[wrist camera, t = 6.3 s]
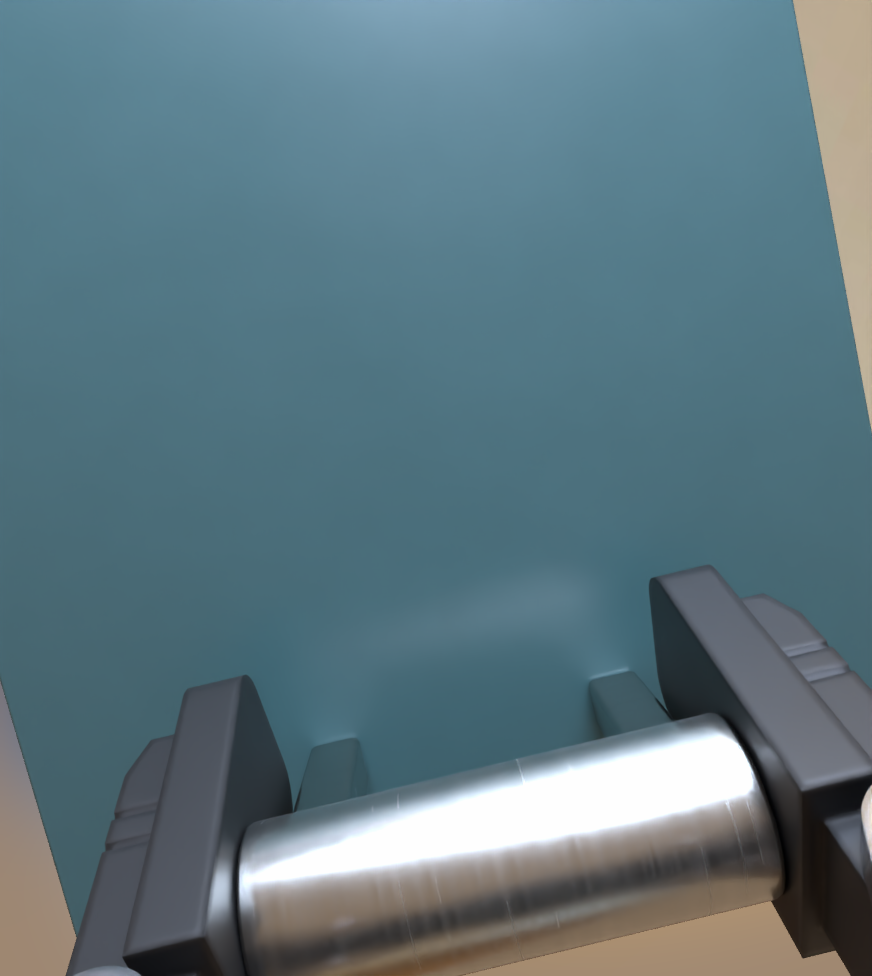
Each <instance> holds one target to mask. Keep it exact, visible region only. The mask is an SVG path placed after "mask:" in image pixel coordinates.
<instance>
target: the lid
mask: <svg viewBox="0 0 872 976" xmlns="http://www.w3.org/2000/svg"><path fill="white" fill-rule="evenodd" d="M708 564H709V565H712V566H713V567H714V568H715V569H716V570H717V571H718V572H719V573H720V575H721V576H722V577H723V578H724V580H725V581H726V582H727V583H728V584H729V586H730V587H731V588H732V589H733V590H734V592H735V593H736V594H737V595H738V597H739V598H740V599H741V598H745V597H749V596H753V595H757V594H762V593H764V594H766V595H768V596H770V597H772V598H774V599H776V600H777V601H779V602H781V603H783V604H785V605H787V606H789V607H791V608H793V609H795V610H797V611H799V612H801V613H802V614H803V615H804V616H805V617H806V618H807V620H808V621H809V622H810V623H811V624H812V625H813V626H814V627H815V628H816V629H817V630H818V632H819V633H820V634H821V635H822V636H823V637H824V638H825V639H826V640H827V644H828V646H829V647H833V648H834V649H835V650H836V651H837V652H838V653H839V654H840V656H841V657H842V658H843V659H844V660H845V661H846V662H847V663H848V664H849V668H850V670H851V671H855V672H856V673H857V674H858V675H859V676H860V677H861V679H862V680H863V681H864V682H865V683H866V684H867V685H868V686H869V687H870V688H871V689H872V432H871V426H870V421H869V416H868V410H867V405H866V399H865V394H864V388H863V383H862V377H861V372H860V366H859V361H858V355H857V350H856V344H855V339H854V333H853V328H852V323H851V317H850V312H849V306H848V301H847V295H846V290H845V284H844V279H843V273H842V268H841V262H840V257H839V251H838V246H837V240H836V235H835V230H834V224H833V219H832V213H831V208H830V202H829V197H828V191H827V186H826V180H825V175H824V169H823V164H822V158H821V153H820V147H819V142H818V137H817V131H816V126H815V120H814V115H813V109H812V104H811V98H810V93H809V87H808V82H807V76H806V71H805V65H804V60H803V54H802V49H801V44H800V38H799V33H798V27H797V22H796V16H795V11H794V5H793V0H0V681H1V685H2V688H3V691H4V695H5V698H6V701H7V704H8V708H9V712H10V715H11V718H12V722H13V725H14V728H15V732H16V735H17V739H18V742H19V745H20V749H21V752H22V755H23V759H24V762H25V765H26V769H27V772H28V775H29V779H30V782H31V785H32V789H33V792H34V796H35V799H36V802H37V805H38V809H39V813H40V816H41V819H42V822H43V826H44V829H45V833H46V836H47V839H48V843H49V846H50V850H51V852H52V856H53V860H54V863H55V866H56V870H57V873H58V877H59V880H60V883H61V886H62V890H63V893H64V897H65V900H66V903H67V907H68V910H69V914H70V917H71V920H72V924H73V927H74V930H75V934H76V937H77V936H78V932H79V929H80V926H81V922H82V919H83V915H84V912H85V909H86V905H87V902H88V898H89V895H90V892H91V888H92V885H93V882H94V878H95V875H96V871H97V868H98V865H99V861H100V858H101V854H102V852H105V841H106V838H107V834H108V831H109V827H110V824H111V821H112V820H115V815H114V811H115V807H116V804H117V800H118V797H119V794H120V790H121V787H122V783H123V780H124V777H125V775H126V773H127V772H128V771H129V769H130V768H131V767H132V765H133V764H134V762H135V761H136V760H137V758H138V757H139V756H140V754H141V753H142V752H143V750H144V749H145V747H146V746H147V745H148V743H149V742H150V741H151V740H153V739H157V738H161V737H165V736H169V735H174V733H175V729H176V725H177V721H178V716H179V712H180V708H181V704H182V700H183V696H184V693H185V691H186V690H187V689H188V688H192V687H196V686H200V685H204V684H209V683H213V682H217V681H221V680H225V679H229V678H233V677H238V676H242V675H248V676H249V677H250V678H251V679H252V681H253V683H254V685H255V687H256V690H257V692H258V695H259V698H260V700H261V703H262V705H263V708H264V711H265V713H266V716H267V718H268V721H269V724H270V726H271V729H272V731H273V734H274V737H275V739H276V742H277V744H278V747H279V750H280V752H281V755H282V757H283V760H284V763H285V766H286V769H287V773H288V777H289V782H290V787H291V794H292V804H293V813H290V814H286V815H282V816H278V817H274V818H269V819H265V820H261V821H257V822H254V823H253V824H251V825H250V826H248V827H247V829H246V830H245V832H244V834H243V836H242V839H241V842H240V846H239V851H238V858H237V866H236V884H235V892H236V914H237V925H238V933H239V940H240V946H241V952H242V957H243V962H244V966H245V970H246V974H247V976H462V975H466V974H470V973H474V972H478V971H482V970H487V969H491V968H495V967H499V966H503V965H507V964H511V963H516V962H519V961H524V960H528V959H532V958H536V957H540V956H545V955H548V954H553V953H557V952H561V951H565V950H569V949H573V948H577V947H582V946H586V945H590V944H594V943H598V942H602V941H606V940H611V939H615V938H619V937H623V936H627V935H631V934H635V933H640V932H644V931H647V930H652V929H656V928H660V927H664V926H669V925H673V924H677V923H681V922H685V921H689V920H694V919H697V918H701V917H706V916H710V915H714V914H718V913H723V912H726V911H731V910H735V909H739V908H743V907H747V906H752V905H756V904H760V903H764V902H768V901H772V900H776V899H777V898H779V897H780V896H781V895H782V894H783V892H784V889H785V883H786V872H785V861H784V854H783V848H782V843H781V838H780V834H779V830H778V826H777V823H776V819H775V816H774V813H773V809H772V806H771V803H770V801H769V798H768V795H767V792H766V790H765V787H764V784H763V782H762V780H761V777H760V775H759V773H758V770H757V768H756V766H755V764H754V762H753V760H752V758H751V756H750V754H749V752H748V750H747V748H746V747H745V745H744V743H743V741H742V740H741V738H740V737H739V735H738V734H737V732H736V731H735V730H734V728H733V727H732V726H731V724H730V723H729V722H728V721H727V720H726V719H725V718H724V717H723V716H721V715H719V714H716V713H707V714H703V715H699V716H695V717H690V718H686V719H682V720H678V721H675V719H674V718H673V717H672V716H671V715H670V713H669V712H668V710H667V708H666V705H665V702H664V699H663V696H662V692H661V689H660V684H659V679H658V673H657V665H656V655H655V645H654V636H653V626H652V617H651V607H650V597H649V582H650V579H651V578H653V577H657V576H662V575H666V574H670V573H674V572H678V571H682V570H686V569H691V568H695V567H699V566H703V565H708Z"/></svg>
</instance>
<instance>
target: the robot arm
mask: <svg viewBox="0 0 872 976" xmlns="http://www.w3.org/2000/svg"><path fill="white" fill-rule="evenodd" d="M649 597H650V607H651V617H652V626H653V636H654V645H655V655H656V665H657V673H658V679H659V684H660V689H661V692H662V696H663V699H664V702H665V705H666V708H667V710H668V712H669V713H670V715H671V716H672V717H673V718H674V719H675V721H678V720H682V719H686V718H690V717H695V716H699V715H703V714H707V713H716V714H719V715H721V716H723V717H724V718H725V719H726V720H727V721H728V722H729V723H730V724H731V726H732V727H733V728H734V730H735V731H736V732H737V734H738V735H739V737H740V738H741V740H742V741H743V743H744V745H745V747H746V748H747V750H748V752H749V754H750V756H751V758H752V760H753V762H754V764H755V766H756V768H757V770H758V773H759V775H760V777H761V780H762V782H763V784H764V787H765V790H766V792H767V795H768V798H769V801H770V803H771V806H772V809H773V813H774V816H775V819H776V823H777V826H778V830H779V834H780V838H781V843H782V848H783V854H784V861H785V872H786V883H785V889H784V892H783V894H782V895H781V896H780V897H779V898H777V899H776V900H772V901H771V902H772V903H773V905H774V907H775V909H776V911H777V913H778V914H779V916H780V918H781V919H782V922H783V923H784V925H785V927H786V929H787V930H788V933H789V934H790V936H791V938H792V940H793V941H794V943H795V945H796V947H797V949H798V950H799V952H800V954H801V956H802V958H807V957H811V956H815V955H819V954H823V953H827V952H831V951H835V950H836V951H837V953H838V955H839V957H840V958H841V960H842V962H843V963H844V965H845V967H846V968H847V970H848V971H849V973H850V975H851V976H872V689H871V688H870V687H869V686H868V685H867V684H866V683H865V682H864V681H863V680H862V679H861V677H860V676H859V675H858V674H857V673H856V672H855V671H851V670H850V668H849V664H848V663H847V662H846V661H845V660H844V659H843V658H842V657H841V656H840V654H839V653H838V652H837V651H836V650H835V649H834V648H833V647H829V646H828V644H827V640H826V639H825V638H824V637H823V636H822V635H821V634H820V633H819V632H818V630H817V629H816V628H815V627H814V626H813V625H812V624H811V623H810V622H809V621H808V620H807V618H806V617H805V616H804V615H803V614H802V613H801V612H799V611H797V610H795V609H793V608H791V607H789V606H787V605H785V604H783V603H781V602H779V601H777V600H776V599H774V598H772V597H770V596H768V595H766V594H764V593H762V594H757V595H753V596H749V597H745V598H741V599H740V598H739V597H738V595H737V594H736V593H735V592H734V590H733V589H732V588H731V587H730V586H729V584H728V583H727V582H726V581H725V580H724V578H723V577H722V576H721V575H720V573H719V572H718V571H717V570H716V569H715V568H714V567H713V566H712V565H709V564H708V565H703V566H699V567H695V568H691V569H686V570H682V571H678V572H674V573H670V574H666V575H662V576H657V577H653V578H651V579H650V582H649ZM290 813H293V804H292V794H291V787H290V782H289V777H288V773H287V769H286V766H285V763H284V760H283V757H282V755H281V752H280V750H279V747H278V744H277V742H276V739H275V737H274V734H273V731H272V729H271V726H270V724H269V721H268V718H267V716H266V713H265V711H264V708H263V705H262V703H261V700H260V698H259V695H258V692H257V690H256V687H255V685H254V683H253V681H252V679H251V678H250V677H249V676H248V675H242V676H238V677H233V678H229V679H225V680H221V681H217V682H213V683H209V684H204V685H200V686H196V687H192V688H188V689H187V690H186V691H185V693H184V696H183V700H182V704H181V708H180V712H179V716H178V721H177V725H176V729H175V733H174V735H169V736H165V737H161V738H157V739H153V740H151V741H150V742H149V743H148V745H147V746H146V747H145V749H144V750H143V752H142V753H141V754H140V756H139V757H138V758H137V760H136V761H135V762H134V764H133V765H132V767H131V768H130V769H129V771H128V772H127V773H126V775H125V777H124V780H123V783H122V787H121V790H120V794H119V797H118V800H117V804H116V807H115V811H114V815H115V820H112V821H111V824H110V827H109V831H108V834H107V838H106V841H105V852H102V854H101V858H100V861H99V865H98V868H97V871H96V875H95V878H94V882H93V885H92V888H91V892H90V895H89V898H88V902H87V905H86V909H85V912H84V915H83V919H82V922H81V926H80V929H79V932H78V936H77V939H76V942H75V946H74V949H73V953H72V956H71V960H70V963H69V966H68V970H67V973H66V976H247V974H246V970H245V966H244V962H243V957H242V952H241V946H240V940H239V933H238V925H237V914H236V892H235V884H236V866H237V858H238V851H239V846H240V842H241V839H242V836H243V834H244V832H245V830H246V829H247V827H248V826H250V825H251V824H253V823H254V822H257V821H261V820H265V819H269V818H274V817H278V816H282V815H286V814H290Z"/></svg>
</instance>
